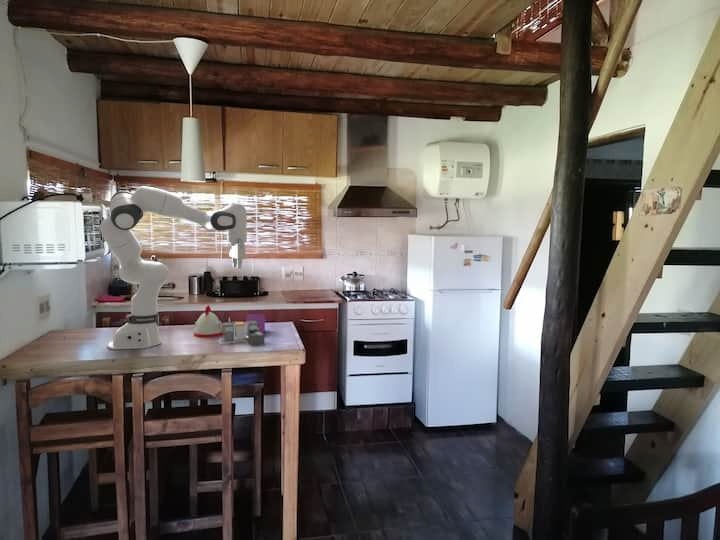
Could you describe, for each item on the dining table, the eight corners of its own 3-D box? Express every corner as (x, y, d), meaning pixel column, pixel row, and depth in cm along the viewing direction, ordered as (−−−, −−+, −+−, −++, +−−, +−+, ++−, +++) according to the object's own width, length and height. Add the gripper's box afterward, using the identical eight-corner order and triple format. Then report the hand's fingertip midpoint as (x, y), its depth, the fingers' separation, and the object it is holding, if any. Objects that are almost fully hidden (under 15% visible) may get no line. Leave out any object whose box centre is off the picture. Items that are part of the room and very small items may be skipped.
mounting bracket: (264, 347, 246) (264, 326, 261) (264, 335, 242) (264, 313, 257) (245, 348, 244) (247, 326, 259) (244, 335, 240) (246, 313, 255)
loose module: (245, 338, 233) (245, 323, 232) (236, 339, 231) (236, 324, 230) (242, 336, 237) (242, 321, 237) (234, 336, 235) (234, 322, 235)
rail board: (220, 344, 227) (220, 325, 226) (217, 341, 233) (217, 323, 232) (262, 341, 235) (262, 322, 235) (258, 337, 242) (258, 320, 241)
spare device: (252, 346, 225) (252, 335, 225) (248, 344, 230) (248, 332, 229) (264, 344, 229) (264, 333, 228) (260, 342, 233) (260, 331, 232)
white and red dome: (190, 337, 240) (190, 307, 238) (198, 331, 253) (198, 303, 252) (218, 337, 240) (218, 308, 239) (225, 331, 254) (225, 303, 253)
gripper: (248, 239, 220) (248, 269, 221) (239, 238, 238) (239, 266, 239) (234, 239, 217) (234, 269, 218) (226, 238, 235) (226, 266, 236)
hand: (237, 267), depth 229 cm, fingers open, 8 cm apart
